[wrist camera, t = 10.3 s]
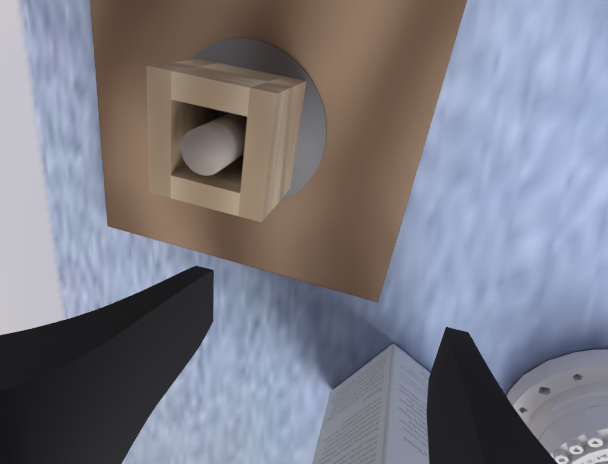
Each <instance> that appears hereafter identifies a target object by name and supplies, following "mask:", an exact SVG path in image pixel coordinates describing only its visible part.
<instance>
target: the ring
mask: <svg viewBox="0 0 608 464" xmlns="http://www.w3.org/2000/svg"><path fill="white" fill-rule="evenodd" d="M146 71H147V122H148V173H149V193H153V194H157V195H161V196H164V197H168V198H172V199H176V200H179V201H183V202H187V203H191V204H194V205H198V206H202V207H206V208H209V209H213V210H217V211H221V212H224V213H228V214H232V215H236V216H239V217H243V218H247V219H251V220H254V221H258V222H262V221H263V220H264V219H265V218H266V217H267V215H268V214H269V213H270V212H271V211H272V210H273V208H274V207H275V206H276V205H277V204H278V203H279V201H280V200H281V199H282V198H283V197H284V196H285V194H286V193H287V192H288V191H289V190H290V186H291V180H292V173H293V166H294V160H295V153H296V147H297V140H298V133H299V127H300V120H301V114H302V107H303V101H304V94H305V87H306V81H304V80H299V79H294V78H289V77H285V76H280V75H275V74H270V73H265V72H260V71H256V70H251V69H246V68H241V67H236V66H231V65H227V64H222V63H217V62H212V61H207V60H202V59H193V60H186V61H178V62H170V63H163V64H155V65H147V66H146ZM217 110H220V111H225V112H229V113H233V114H238V115H242V116H247V125H246V136H245V147H244V157H239V158H238V159H236V160H235V161H233V162H232V163H230V164H229V165H227V166H226V167H224V168H223V169H221V170H220V171H219V172H217V173H215V174H213V175H209V176H205V175H200V174H198V173H196V172H194V171H193V170H191V169H190V168H189V167H188V166H187V164H186V163H185V161H184V159H183V157H182V154H181V142H182V139H183V137H184V135H185V134H186V133H187V132H188V131H190V130H192V129H194V128H197V127H199V126H201V125H204V124H206V123H208V122H211V121H213V120H215V119H216V118H217Z"/></svg>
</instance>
